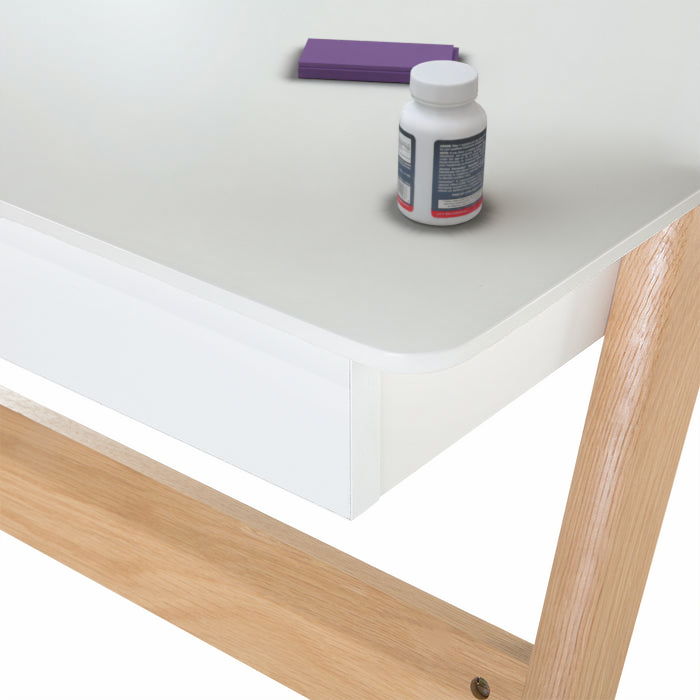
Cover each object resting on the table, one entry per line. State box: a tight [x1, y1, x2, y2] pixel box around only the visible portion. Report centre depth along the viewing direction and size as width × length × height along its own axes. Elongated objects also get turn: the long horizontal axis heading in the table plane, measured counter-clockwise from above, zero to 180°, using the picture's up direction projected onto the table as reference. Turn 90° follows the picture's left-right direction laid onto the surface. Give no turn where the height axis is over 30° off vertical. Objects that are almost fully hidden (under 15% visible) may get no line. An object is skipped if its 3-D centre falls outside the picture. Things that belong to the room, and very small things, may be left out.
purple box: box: [297, 37, 460, 84], centre depth 96 cm, size 12×6×1 cm, turn 83°
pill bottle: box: [396, 60, 488, 227], centre depth 74 cm, size 5×5×9 cm
